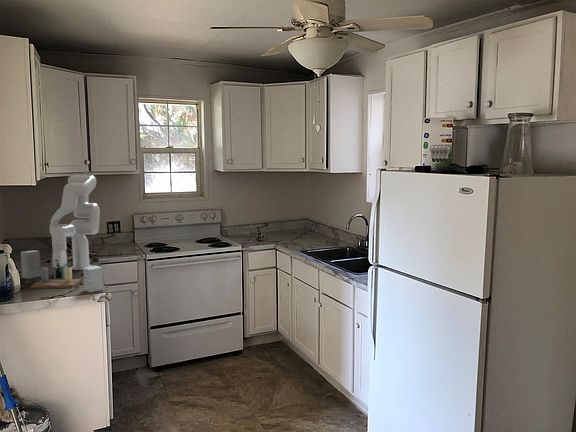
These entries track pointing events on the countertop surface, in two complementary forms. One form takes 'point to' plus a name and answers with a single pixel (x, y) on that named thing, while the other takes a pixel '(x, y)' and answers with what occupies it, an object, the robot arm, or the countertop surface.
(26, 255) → the skincare box
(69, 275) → the brass post
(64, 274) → the turquoise block
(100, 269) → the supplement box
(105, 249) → the countertop surface
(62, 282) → the walnut base board
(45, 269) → the dark steel post
